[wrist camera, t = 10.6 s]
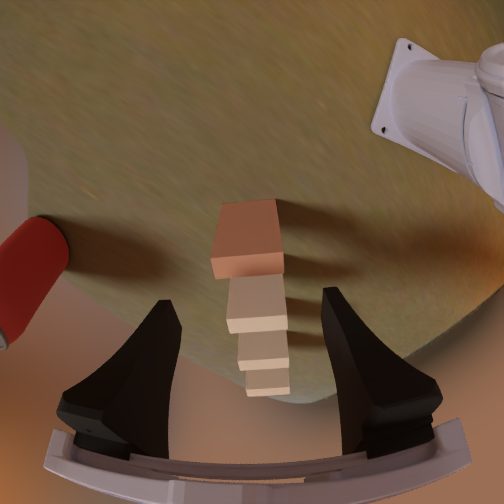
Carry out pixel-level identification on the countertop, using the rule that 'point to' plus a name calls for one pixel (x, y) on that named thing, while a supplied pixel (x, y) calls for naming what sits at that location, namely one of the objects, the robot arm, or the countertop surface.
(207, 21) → the countertop surface
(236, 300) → the ivory domino
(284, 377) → the ivory domino
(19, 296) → the beer can
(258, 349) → the ivory domino
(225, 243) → the rust domino
